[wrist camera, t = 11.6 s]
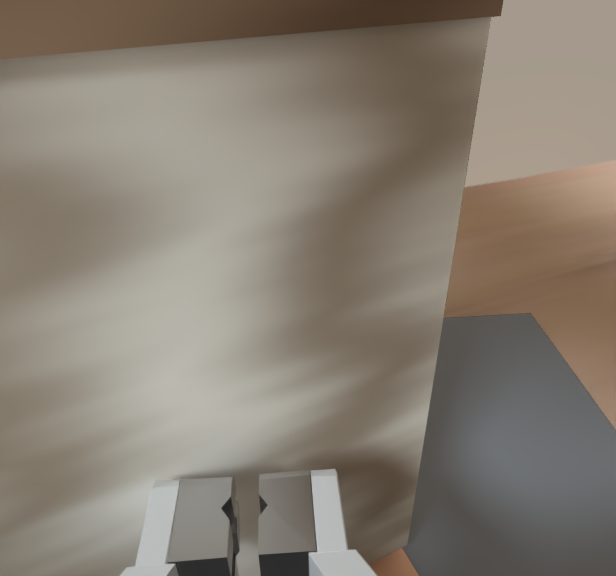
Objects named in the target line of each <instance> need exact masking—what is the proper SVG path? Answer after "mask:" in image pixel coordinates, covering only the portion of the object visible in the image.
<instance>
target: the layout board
mask: <svg viewBox="0 0 616 576" xmlns="http://www.w3.org/2000/svg"><path fill="white" fill-rule="evenodd" d="M369 566H370V567H371V568H372V569H373V570H374V572H375V573H376V574H377V575H378V576H616V430H615V429H614V427H613V426H612V424H611V423H610V422H609V420H608V419H607V418H606V416H605V415H604V413H603V412H602V411H601V409H600V408H599V407H598V405H597V404H596V402H595V401H594V400H593V398H592V397H591V396H590V394H589V393H588V391H587V390H586V389H585V387H584V386H583V385H582V383H581V382H580V380H579V379H578V378H577V376H576V375H575V374H574V372H573V371H572V369H571V368H570V367H569V365H568V364H567V363H566V361H565V360H564V358H563V357H562V356H561V354H560V353H559V352H558V350H557V349H556V347H555V346H554V345H553V343H552V342H551V341H550V339H549V338H548V336H547V335H546V334H545V332H544V331H543V330H542V328H541V327H540V325H539V324H538V323H537V321H536V320H535V319H534V317H533V316H532V314H531V313H525V314H508V315H490V316H472V317H454V318H443V324H442V330H441V336H440V343H439V349H438V355H437V361H436V368H435V374H434V380H433V387H432V393H431V399H430V405H429V412H428V418H427V424H426V431H425V437H424V443H423V449H422V456H421V462H420V468H419V475H418V481H417V487H416V493H415V500H414V506H413V512H412V519H411V525H410V531H409V538H408V544H407V545H406V546H405V547H403V548H401V549H399V550H397V551H395V552H393V553H391V554H389V555H387V556H385V557H383V558H381V559H380V560H378V561H376V562H374V563H372V564H370V565H369Z"/></svg>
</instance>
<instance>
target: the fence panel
mask: <svg viewBox="0 0 616 576" xmlns="http://www.w3.org/2000/svg"><path fill="white" fill-rule="evenodd" d="M502 5H503V0H0V576H120V575H121V573H122V572H123V571H124V570H125V569H126V567H131V566H135V564H136V559H137V554H138V549H139V545H140V540H141V535H142V530H143V526H144V521H145V516H146V511H147V507H148V502H149V497H150V492H151V489H152V487H153V485H154V483H155V481H163V480H178V479H200V478H220V477H234V479H235V485H236V498H235V500H237V501H238V505H239V515H240V551H239V553H238V554H237V556H236V560H237V567H238V574H239V576H261V574H260V564H259V555H258V532H259V516H260V515H261V512H260V502H259V476H260V474H266V473H278V472H289V471H301V470H309V471H312V470H323V469H334V468H335V470H336V472H337V474H338V481H339V488H340V495H341V502H342V509H343V516H344V523H345V530H346V538H347V545H348V549H356V550H357V551H358V552H359V553H360V555H361V556H362V557H363V558H364V559H365V561H366V562H367V563H368V564H369V565H370V564H372V563H374V562H376V561H378V560H380V559H381V558H383V557H385V556H387V555H389V554H391V553H393V552H395V551H397V550H399V549H401V548H403V547H405V546H406V545H407V544H408V538H409V531H410V525H411V519H412V512H413V506H414V500H415V493H416V487H417V481H418V475H419V468H420V462H421V456H422V449H423V443H424V437H425V431H426V424H427V418H428V412H429V405H430V399H431V393H432V387H433V380H434V374H435V368H436V361H437V355H438V349H439V343H440V336H441V330H442V324H443V317H444V311H445V305H446V298H447V292H448V286H449V280H450V273H451V267H452V261H453V254H454V248H455V242H456V236H457V229H458V223H459V217H460V210H461V204H462V198H463V192H464V185H465V179H466V172H467V166H468V160H469V154H470V147H471V141H472V134H473V128H474V122H475V116H476V109H477V103H478V97H479V91H480V84H481V78H482V72H483V66H484V58H485V53H486V47H487V40H488V34H489V28H490V21H491V17H494V16H501V11H502Z"/></svg>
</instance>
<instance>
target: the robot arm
mask: <svg viewBox="0 0 616 576" xmlns="http://www.w3.org/2000/svg"><path fill="white" fill-rule="evenodd" d="M235 498H236V485H235V479H234V477H220V478H200V479H178V480H163V481H155V483H154V485H153V487H152V489H151V492H150V497H149V502H148V507H147V511H146V516H145V521H144V526H143V530H142V535H141V540H140V545H139V549H138V554H137V559H136V564H135V566H131V567H126V569H125V570H124V571H123V572H122V573H121V575H120V576H239V574H238V567H237V560H236V556H237V554H238V553H239V551H240V515H239V505H238V501H237V500H235ZM259 502H260V512H261V515H260V516H259V532H258V555H259V564H260V574H261V576H378V575H377V574H376V573H375V572H374V570H373V569H372V568H371V567H370V566H369V564H368V563H367V562H366V561H365V559H364V558H363V557H362V556H361V555H360V553H359V552H358V551H357V550H356V549H348V545H347V538H346V530H345V523H344V516H343V509H342V502H341V495H340V488H339V481H338V474H337V472H336V470H335V468H334V469H323V470H312V471H309V470H301V471H289V472H278V473H266V474H260V476H259Z"/></svg>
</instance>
